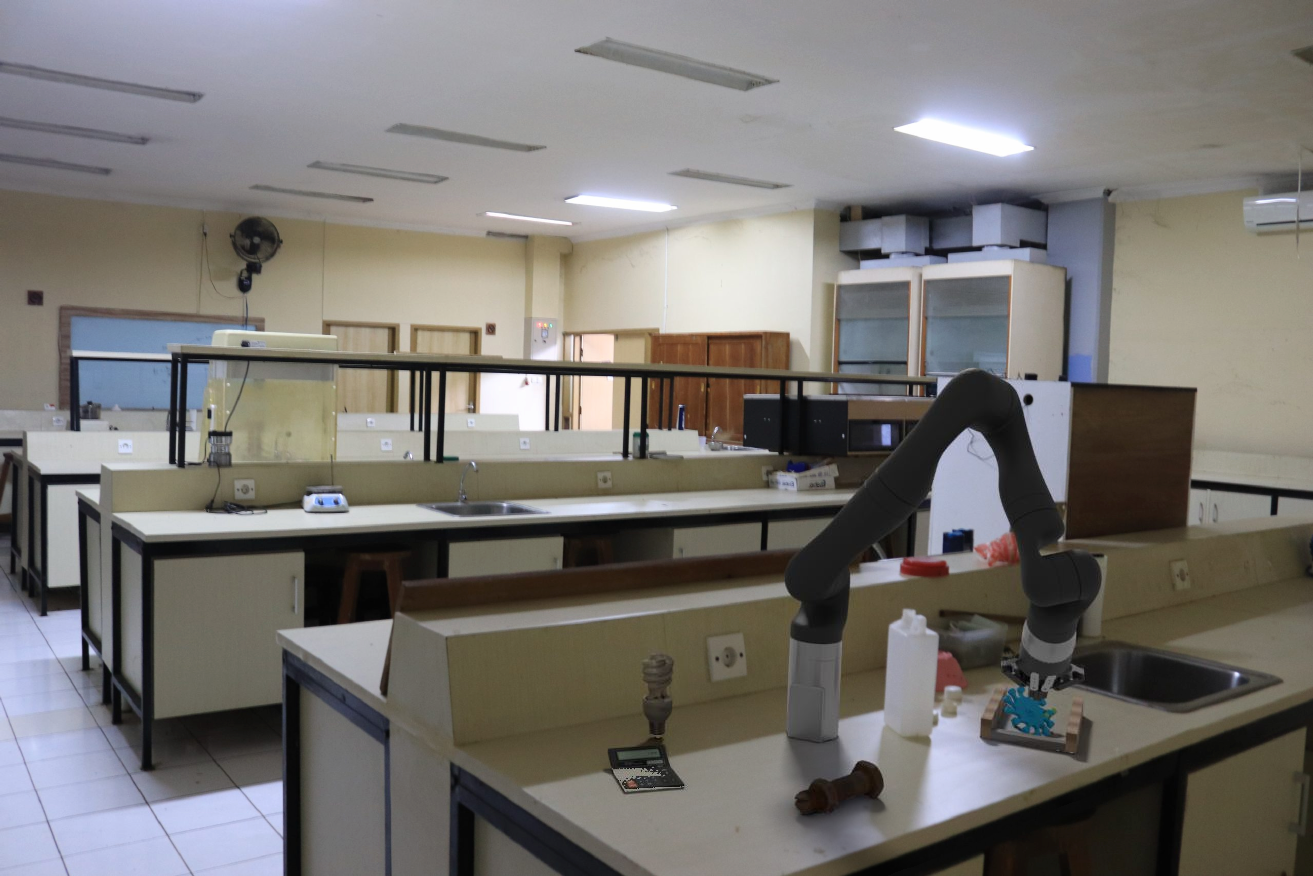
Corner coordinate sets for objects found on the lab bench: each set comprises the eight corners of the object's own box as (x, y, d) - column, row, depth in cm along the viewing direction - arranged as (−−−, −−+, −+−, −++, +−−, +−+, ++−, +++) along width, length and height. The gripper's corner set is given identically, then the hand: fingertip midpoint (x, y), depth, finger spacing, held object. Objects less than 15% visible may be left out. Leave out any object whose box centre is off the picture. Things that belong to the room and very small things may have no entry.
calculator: (625, 794, 147) (625, 774, 146) (606, 765, 158) (607, 747, 158) (684, 789, 149) (685, 770, 149) (662, 761, 160) (663, 743, 160)
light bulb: (658, 745, 166) (661, 658, 166) (633, 738, 170) (635, 652, 169) (677, 737, 171) (680, 652, 170) (652, 729, 174) (655, 646, 174)
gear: (1017, 732, 175) (1000, 682, 181) (999, 747, 179) (983, 697, 185) (1069, 737, 178) (1050, 687, 184) (1050, 751, 182) (1032, 702, 188)
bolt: (796, 827, 141) (866, 801, 150) (818, 822, 138) (889, 795, 146) (782, 786, 143) (853, 762, 152) (804, 780, 140) (875, 756, 148)
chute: (1076, 754, 169) (1077, 734, 169) (979, 737, 176) (980, 718, 176) (1082, 715, 191) (1083, 697, 191) (996, 701, 198) (997, 684, 198)
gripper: (1093, 623, 150) (1078, 680, 163) (1002, 615, 154) (994, 671, 166) (1096, 666, 146) (1081, 721, 158) (1002, 656, 149) (994, 711, 162)
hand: (1036, 696), depth 162 cm, fingers closed
